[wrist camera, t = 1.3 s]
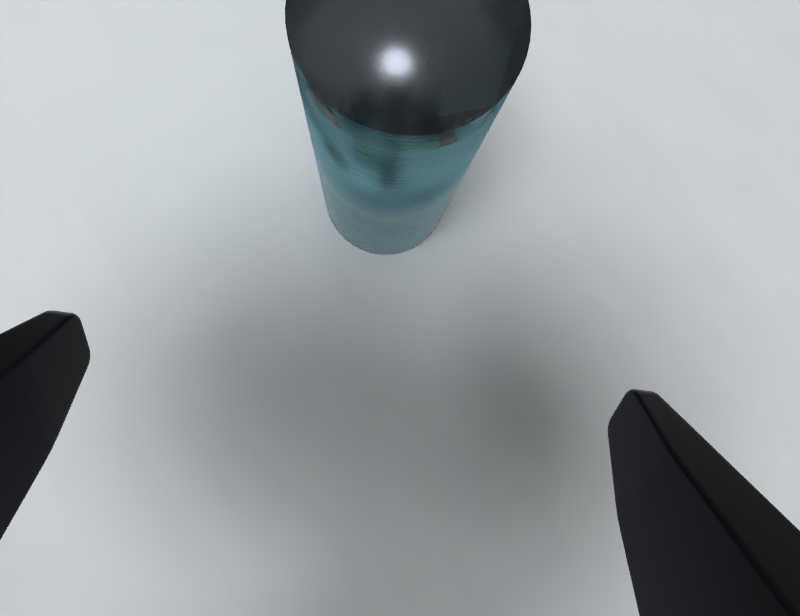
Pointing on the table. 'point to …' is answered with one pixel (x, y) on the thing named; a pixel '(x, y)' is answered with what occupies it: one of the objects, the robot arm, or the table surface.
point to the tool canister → (401, 103)
